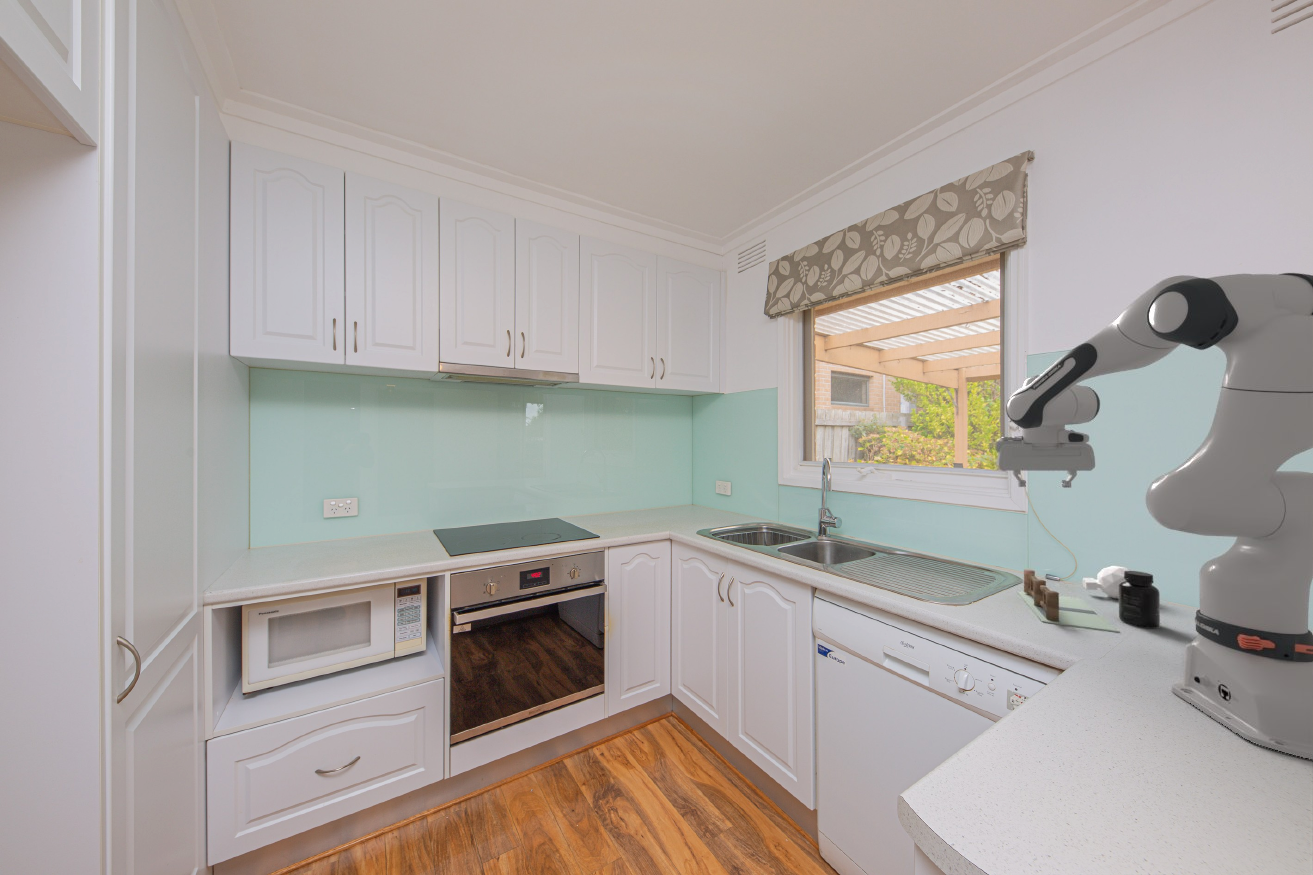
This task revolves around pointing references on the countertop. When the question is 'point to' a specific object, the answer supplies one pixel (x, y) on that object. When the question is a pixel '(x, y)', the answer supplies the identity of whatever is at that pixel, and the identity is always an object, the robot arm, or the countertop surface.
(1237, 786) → the countertop surface
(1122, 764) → the countertop surface
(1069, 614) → the mat
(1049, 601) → the fence fixed
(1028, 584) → the fence gate
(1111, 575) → the perfume bottle
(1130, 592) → the supplement bottle
